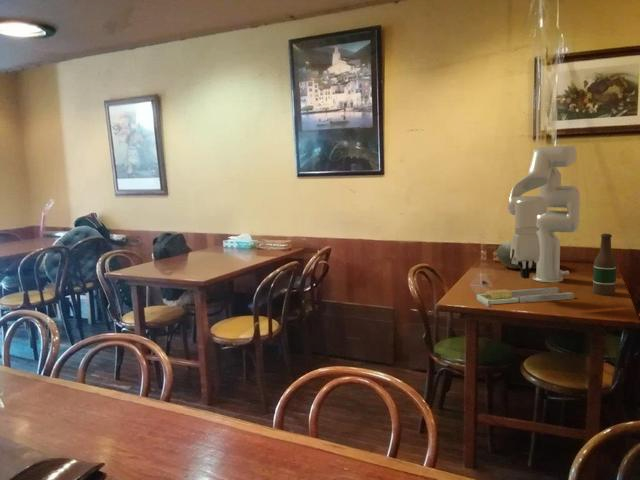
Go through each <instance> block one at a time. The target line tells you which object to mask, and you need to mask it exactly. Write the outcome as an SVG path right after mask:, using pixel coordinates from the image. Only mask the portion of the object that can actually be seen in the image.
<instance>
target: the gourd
mask: <svg viewBox="0 0 640 480" xmlns="http://www.w3.org/2000/svg"><path fill="white" fill-rule="evenodd" d="M510 249H511V241H507V242H504V243H502V244H500V245H499V246H498V248H497V249H496V256H497V259H498V260H499V262H500V263H501V264H502V265H503V266H505V267H506V268H509V269H511V270H512V269H513V270H519V269H520V270H521V267H519V266H518V265H517V264H513V263H512V259H511V258H510ZM536 264H537V262H536V263H534V264H533V265H532V267H531V268H530V270H533V269H536Z"/></svg>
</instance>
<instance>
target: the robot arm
mask: <svg viewBox="0 0 640 480" xmlns="http://www.w3.org/2000/svg"><path fill="white" fill-rule="evenodd" d="M576 159H577V149H576V147H575V146H574V145H554V146H553V145H551V146H539V147H536V148H534V149H533V150H532V152H531V157H530V162H529V166H528V169H527V175H525V176H523V177H522V178H521V179H519V180H518V181H517V182H516V183H515V184H514V185H513V186H512V188H511V191H510V193H509V197H508V199H507V200H508V201H507V211H508V213H509V214H510V215H514V218H515V220H514V234H512V237H511V241H510V242H511V249H510V258H511V259H512V263H513V264H517V265H518V266H519V267H521V269H520V277H521V278H522V279H526V280H527V279H530V275H531V269H530V268H531V267H532V265H533V264H534V263H536V262H537V264H536V273H535V274H534V275H533V276H532V280H533V281H536V282H541V283H560V282H563V281H564V278H563V276H569V275H570V271H569V270H562V269H560V265H561V262H560V259H561V258H560V257H561V240H560V239H559V237H558V236H557V235H556V233H575V232H577V231H578V229H579V226H580V203H581V200H580V199H581V198H580V190H579V188H578V187H576V186H574V185H562V173H561V171H560V170H559V169H558V168H566V167H567V168H568V167H571V166H573V165H574V163H575V162H576ZM538 188H539V196H535V195H533V196H529V195H528V196H527V195H523V194H525V193H528V192H530V191H533V190H536V189H538ZM548 208H557V209H558V208H561V209H562V208H565V209H567V210H548Z"/></svg>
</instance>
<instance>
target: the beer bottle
mask: <svg viewBox="0 0 640 480" xmlns="http://www.w3.org/2000/svg"><path fill="white" fill-rule="evenodd" d="M600 237H601V240H600V248H599V253H598V254H597V256H596V257H595V259H594V261H593V262H594V263H593V270H592V271H593V275H592V276H593V277H592V293H593V294H595V295H599V296H614V295H615V294H616V287H617V286H616V284H617V281H616V280H617V260H616V259H615V257H614V255H613V253H612V234H610V233H601V234H600ZM613 294H614V295H613Z"/></svg>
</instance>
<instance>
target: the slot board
mask: <svg viewBox="0 0 640 480" xmlns="http://www.w3.org/2000/svg"><path fill="white" fill-rule="evenodd" d="M559 290H560V288H559V287H558V286H557V287H556V286H553V287H540V288H526V289H525V288H524V289H512V290H510V291H511V292H512V298H519V302H518V303H520V304H524V303H532V302H533V303H535V302H547V301H548V302H549V301H558V300H559V301H561V300H574V299H575V297H574V296H575V295H574V293H573V292H571V291H570V292H568V291H567V292H559Z"/></svg>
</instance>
